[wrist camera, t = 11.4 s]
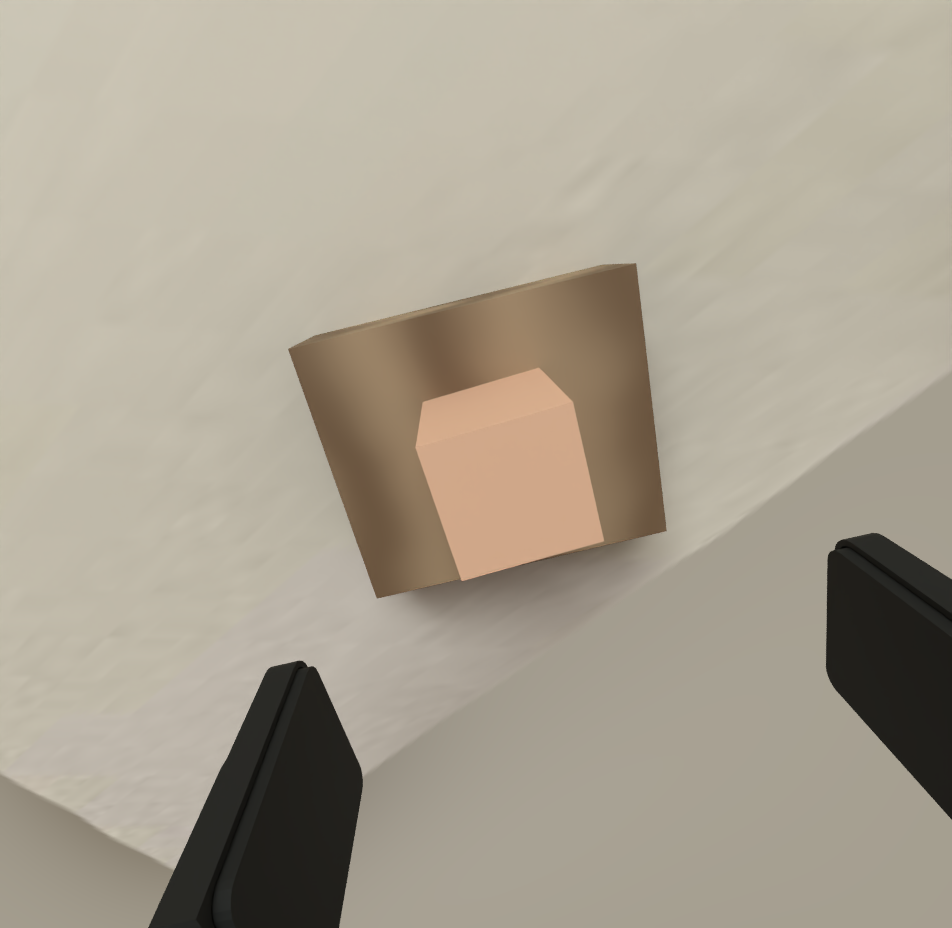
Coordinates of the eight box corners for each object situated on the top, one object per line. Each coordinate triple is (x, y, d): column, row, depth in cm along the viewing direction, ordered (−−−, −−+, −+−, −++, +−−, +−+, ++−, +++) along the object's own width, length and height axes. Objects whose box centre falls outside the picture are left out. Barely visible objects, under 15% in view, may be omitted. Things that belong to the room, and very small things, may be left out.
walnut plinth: (599, 265, 25) (636, 263, 20) (630, 489, 29) (666, 531, 24) (316, 334, 25) (288, 348, 21) (387, 546, 30) (376, 598, 25)
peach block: (539, 367, 21) (573, 401, 16) (565, 475, 23) (604, 541, 18) (422, 401, 22) (415, 448, 16) (457, 506, 23) (461, 581, 18)
